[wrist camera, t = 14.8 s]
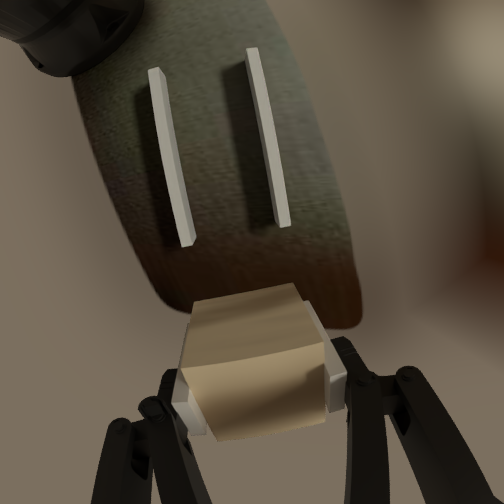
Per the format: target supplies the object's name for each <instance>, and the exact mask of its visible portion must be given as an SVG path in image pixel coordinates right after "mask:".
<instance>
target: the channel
mask: <svg viewBox="0 0 504 504" xmlns="http://www.w3.org/2000/svg"><path fill="white" fill-rule="evenodd" d="M245 65H246V69H247V74H248V79H249V84H250V88H251V93H252V98H253V103H254V108H255V113H256V118H257V123H258V129H259V134H260V139H261V144H262V150H263V155H264V161H265V166H266V172H267V177H268V183H269V189H270V195H271V200H272V206H273V212H274V218H275V222H276V223H277V224H278V225H279V227H280V228H281V227H286V226H291V222H290V215H289V208H288V202H287V196H286V190H285V183H284V178H283V172H282V166H281V160H280V155H279V149H278V144H277V138H276V133H275V128H274V123H273V117H272V112H271V107H270V103H269V98H268V93H267V88H266V84H265V79H264V74H263V70H262V66H261V61H260V57H259V52H258V48H248V49H246V54H245ZM148 74H149V82H150V90H151V97H152V104H153V110H154V117H155V123H156V129H157V135H158V140H159V146H160V151H161V157H162V162H163V167H164V172H165V177H166V182H167V186H168V191H169V195H170V200H171V204H172V209H173V213H174V217H175V222H176V226H177V230H178V234H179V238H180V242H181V246H182V247H185V246H190V245H193V243H194V241H195V239H196V233H195V229H194V225H193V220H192V216H191V211H190V207H189V202H188V198H187V193H186V189H185V184H184V179H183V174H182V169H181V164H180V159H179V154H178V149H177V143H176V138H175V132H174V127H173V121H172V115H171V109H170V103H169V96H168V90H167V83H166V77H165V75H164V74H163V72H162V71H161V70H160V68H159V67H156V68H153V69H150V70H148Z"/></svg>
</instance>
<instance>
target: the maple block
mask: <svg viewBox="0 0 504 504" xmlns="http://www.w3.org/2000/svg"><path fill="white" fill-rule="evenodd" d="M324 363H325V356H324V341H323V339H322V337H321V335H320V333H319V331H318V329H317V327H316V326H315V324H314V322H313V320H312V318H311V316H310V314H309V312H308V310H307V308H306V307H305V305H304V303H303V301H302V299H301V297H300V295H299V293H298V291H297V290H296V288H295V286H294V284H293V283H289V284H284V285H279V286H275V287H270V288H265V289H260V290H255V291H250V292H245V293H240V294H235V295H230V296H224V297H219V298H214V299H208V300H203V301H197V302H194V305H193V310H192V314H191V319H190V323H189V328H188V333H187V338H186V343H185V348H184V352H183V358H182V363H181V368H180V369H181V371H182V373H183V375H184V377H185V380H186V382H187V384H188V386H189V388H190V390H191V392H192V394H193V396H194V398H195V400H196V402H197V404H198V406H199V408H200V410H201V412H202V414H203V416H204V418H205V419H206V421H207V423H208V425H209V427H210V429H211V431H212V432H213V434H214V436H215V437H216V440H217V441H227V440H236V439H244V438H250V437H257V436H264V435H269V434H275V433H280V432H285V431H289V430H293V429H298V428H303V427H307V426H310V425H315V424H318V423H322V422H325V390H324Z"/></svg>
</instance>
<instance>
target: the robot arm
mask: <svg viewBox="0 0 504 504" xmlns="http://www.w3.org/2000/svg"><path fill="white" fill-rule="evenodd" d="M143 7H144V0H0V36H1V37H4V38H6V39H9V40H12V41H14V42H16V43H18V44H19V45H20V47H21V48H22V49H23V51H24V52H25V54H26V55H27V56H28V58H29V59H30V61H31V62H32V64H33V65H34V66H35V67H36V68H37V69H38V70H40V71H41V72H44V73H46V74H48V75H51V76H54V77H68V76H73V75H76V74H79V73H81V72H84V71H86V70H88V69H90V68H91V67H93V66H95V65H96V64H98V63H99V62H101V61H102V60H104V59H105V58H106V57H108V56H109V55H110V54H111V53H112V52H114V51H115V50H116V49H117V48H118V47H119V46H120V45H121V44H122V43H123V42H124V41H125V40H126V38H127V37H128V36H129V35H130V33H131V32H132V31H133V29H134V28H135V26H136V25H137V23H138V21H139V19H140V17H141V14H142V11H143ZM303 303H304V305H305V307H306V308H307V310H308V312H309V314H310V316H311V318H312V320H313V322H314V324H315V326H316V327H317V329H318V331H319V333H320V335H321V337H322V339H323V341H324V356H325V363H324V390H325V402H326V405H327V408H328V410H329V413H331V412H335V411H338V410H341V409H344V407H345V404H346V406H347V408H348V413H347V421H346V422H347V428H348V429H347V469H346V485H345V486H346V487H345V499H344V504H390V483H389V462H388V447H387V436H386V427H385V418H384V415H389V417H390V419H391V422H392V424H393V426H394V428H395V430H396V433H397V435H398V437H399V439H400V441H401V444H402V446H403V448H404V450H405V453H406V455H407V458H408V460H409V462H410V465H411V467H412V470H413V472H414V474H415V477H416V479H417V482H418V484H419V487H420V490H421V492H422V495H423V497H424V500H425V503H426V504H504V503H502V502H501V501H500V500H498V499H497V498H496V497H495V496H493V493H492V491H491V489H490V487H489V485H488V483H487V481H486V479H485V477H484V475H483V473H482V471H481V469H480V467H479V466H478V464H477V462H476V460H475V458H474V456H473V454H472V453H471V451H470V449H469V447H468V446H467V444H466V442H465V440H464V439H463V437H462V435H461V434H460V432H459V430H458V428H457V427H456V425H455V423H454V422H453V420H452V418H451V417H450V415H449V414H448V412H447V410H446V409H445V407H444V406H443V404H442V403H441V401H440V400H439V398H438V396H437V395H436V393H435V392H434V390H433V389H432V387H431V386H430V384H429V383H428V382H427V380H426V378H425V377H424V375H423V374H422V373H421V371H420V370H419V369H418V368H416V367H414V366H404V367H402V368H400V369H398V371H397V372H396V375H390V376H378V375H376V374H375V373H374V372H371V371H369V370H368V369H367V367H366V366H365V364H364V362H363V361H362V359H361V357H360V356H359V354H358V353H357V351H356V349H355V348H354V346H353V345H352V343H351V341H350V340H348V339H347V338H345V337H344V336H342V337H339V338H335V339H331V340H330V339H329V337H328V335H327V333H326V331H325V330H324V328H323V326H322V324H321V322H320V320H319V319H318V317H317V315H316V313H315V311H314V310H313V308H312V306H311V304H310V302H309V301H304V302H303ZM188 328H189V323H188V325H187V329H186V334H185V338H184V343H183V347H182V352H181V356H180V361H179V366H178V368H177V369H168V370H167V371H166V372H165V373H164V375H163V376H162V379H161V384H160V387H159V391H158V395H157V396H150V397H147V398H145V399H144V400H142V401H141V403H140V404H139V407H138V410H139V412H140V413H141V414H142V416H143V417H144V419H143V420H140V421H136V422H132V423H131V422H130V421H129V420H128V419H126V418H117V419H115V420H113V421H112V422H111V423H110V425H109V426H108V429H107V433H106V438H105V441H104V445H103V449H102V453H101V457H100V461H99V465H98V470H97V475H96V479H95V485H94V489H93V495H92V500H91V504H151V491H152V477H153V476H152V475H153V469H154V473H155V478H156V483H157V487H158V491H159V495H160V499H161V503H162V504H212V502H211V499H210V497H209V494H208V492H207V489H206V487H205V484H204V481H203V479H202V476H201V473H200V470H199V468H198V465H197V462H196V459H195V456H194V453H193V450H192V447H191V444H190V441H189V439H188V438H187V432H188V431H189V433H190V434H191V436H195V435H206V425H207V421H206V419H205V418H204V416H203V414H202V412H201V410H200V408H199V406H198V404H197V402H196V400H195V398H194V396H193V394H192V392H191V390H190V388H189V386H188V384H187V382H186V380H185V377H184V375H183V373H182V371H181V369H180V368H181V363H182V358H183V352H184V348H185V343H186V338H187V333H188Z"/></svg>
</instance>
